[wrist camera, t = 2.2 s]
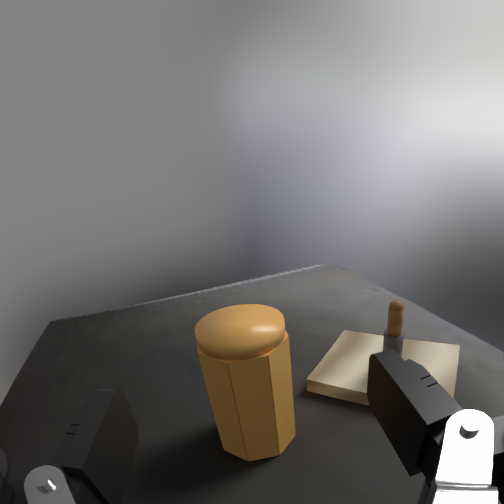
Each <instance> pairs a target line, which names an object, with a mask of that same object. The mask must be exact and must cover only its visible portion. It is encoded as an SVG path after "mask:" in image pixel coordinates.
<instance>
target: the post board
mask: <svg viewBox="0 0 504 504" xmlns="http://www.w3.org/2000/svg"><path fill="white" fill-rule="evenodd" d="M403 309H404V307H403V304H402V302H401V301H399V300H394V301H392V302H391V303H390V305H389V312H388V328H387V330H386V331H385V332H384V336H380V335H374V334H367V333H360V332H354V331H347V330H344V332H343V333H342V334H341V336H340V337H339V338H338V340H337V341H336V342H335V344H334V345H333V346H332V347H331V349H330V350H329V351H328V353H327V354H326V355H325V356H324V358H323V359H322V360H321V362H320V363H319V364H318V365H317V367H316V368H315V369H314V370H313V372H312V373H311V374H310V375H309V376H308V378H307V379H306V382H307V391H310V392H314V393H318V394H321V395H325V396H329V397H333V398H338V399H342V400H346V401H350V402H355V403H359V404H364V405H369V403H368V399H367V382H368V368H369V357H370V355H371V354H374V353H378V352H382V351H386V350H389V349H394V350H395V351H396V352H397V353H398V354H399V355H400V356H401V357H402V359H403V360H404V361H405V360H408V359H411V360H413V361H415V362H417V363H419V364H421V365H423V366H424V368H425V369H426V370H427V371H428V372H429V373H430V374H431V377H432V376H433V377H434V378H435V379H436V380H437V381H438V384H440V385H441V386H442V387H443V388H444V389H445V390H446V391H447V392H448V393H449V394H450V396H451V397H452V398H453V396H454V390H455V383H456V375H457V367H458V358H459V347H460V345H453V344H443V343H434V342H426V341H418V340H410V339H404V332H403V331H402V321H403Z"/></svg>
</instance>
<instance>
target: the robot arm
mask: <svg viewBox="0 0 504 504" xmlns="http://www.w3.org/2000/svg"><path fill="white" fill-rule="evenodd" d="M367 399H368V403H369V406H370V408H371V410H372V411H373V413H374V415H375V417H376V418H377V420H378V422H379V423H380V425H381V427H382V429H383V430H384V432H385V434H386V435H387V437H388V439H389V441H390V442H391V444H392V446H393V448H394V449H395V451H396V453H397V455H398V456H399V458H400V460H401V462H402V463H403V465H404V467H405V469H406V470H407V472H408V474H409V476H410V477H411V476H413V475H416V474H418V473H420V472H423V474H424V476H425V477H426V478H425V480H424V483H423V487H422V490H421V493H420V497H419V500H418V503H417V504H497V501H498V499H499V500H500V502H501V503H502V504H504V415H503V416H499V417H495V418H489V417H488V416H487V415H486V414H484V413H482V412H480V411H476V410H463V409H462V408H461V407H460V405H459V404H458V403H457V402H456V401H455V400H454V399H453V398H452V397H451V396H450V394H449V393H448V392H447V391H446V390H445V389H444V388H443V387H442V386H441V385H440V384H438V381H437V380H436V379H435V378H434V377H433V376H432V377H431V374H430V373H429V372H428V371H427V370H426V369H425V368H424V366H423V365H421V364H419V363H417V362H415V361H413V360H411V359H408V360H405V361H404V360H403V359H402V357H401V356H400V355H399V354H398V353H397V352H396V351H395V350H394V349H389V350H386V351H382V352H378V353H374V354H371V355H370V357H369V368H368V382H367ZM66 433H67V434H65V436H64V438H63V440H62V441H61V443H60V445H59V447H58V449H57V451H56V453H55V455H54V457H53V459H52V462H51V464H50V465H49V466H41V467H38V468H36V469H34V470H32V471H31V472H30V473H29V474H28V475H27V477H26V479H25V480H8V481H7V480H6V479H5V477H6V474H7V466H8V463H7V458H6V455H5V453H4V452H3V450H2V449H1V448H0V504H122V500H123V495H124V491H125V487H126V483H127V479H128V476H129V472H130V468H131V464H132V460H133V457H134V453H135V449H136V445H137V442H138V435H139V434H138V426H137V423H136V421H135V419H134V416H133V414H132V412H131V410H130V408H129V405H128V403H127V401H126V398H125V396H124V394H123V392H122V391H121V390H120V389H99V390H97V392H96V393H95V395H94V397H93V399H92V401H91V403H90V404H86V405H85V406H84V407H82V408H81V409H80V410H79V411H78V412H77V413H76V415H75V417H74V418H73V420H72V422H71V426H69V428H68V430H67V432H66Z"/></svg>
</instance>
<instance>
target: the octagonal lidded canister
mask: <svg viewBox="0 0 504 504" xmlns="http://www.w3.org/2000/svg"><path fill="white" fill-rule="evenodd" d="M195 336H196V340H197V346H198V356H199V360H200V364H201V368H202V372H203V376H204V380H205V384H206V388H207V392H208V395H209V399H210V403H211V407H212V410H213V414H214V418H215V421H216V425H217V428H218V432H219V435H220V439H221V442H222V445H223V449H224V450H225V451H227V452H229V453H231V454H233V455H235V456H238V457H240V458H242V459H244V460H246V461H254V460H259V459H264V458H269V457H274V456H278V455H280V454H281V453H282V452H283V451H284V449H285V448H286V447H287V446H288V445H289V443H290V442H291V441H292V440H293V438H294V437H295V418H294V403H293V388H292V374H291V360H290V347H289V336H288V334H287V332H286V330H285V323H284V317H283V315H282V313H281V312H280V311H278V310H277V309H275V308H272V307H269V306H265V305H258V304H243V305H234V306H229V307H225V308H222V309H219V310H216V311H213V312H211V313H209V314H207V315H206V316H204V317H203V318H202V319H200V320H199V322H198V323H197V324H196V326H195Z"/></svg>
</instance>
